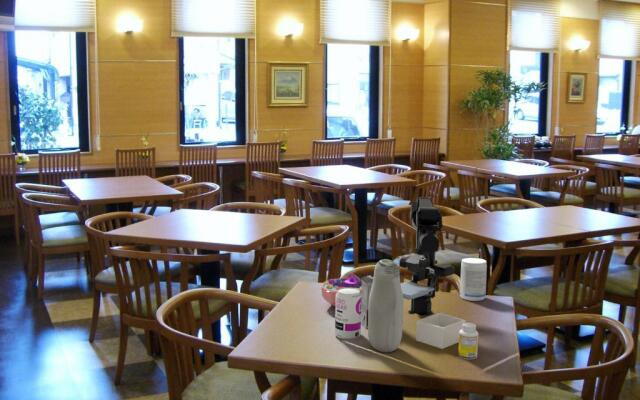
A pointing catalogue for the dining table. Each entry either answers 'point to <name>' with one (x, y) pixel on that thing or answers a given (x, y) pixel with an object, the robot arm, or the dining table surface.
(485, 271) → the supplement tub
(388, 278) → the grey tall bottle
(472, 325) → the supplement bottle
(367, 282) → the coffee box
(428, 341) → the tub
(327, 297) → the cell model
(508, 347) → the dining table surface
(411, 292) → the lid
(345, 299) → the supplement can
